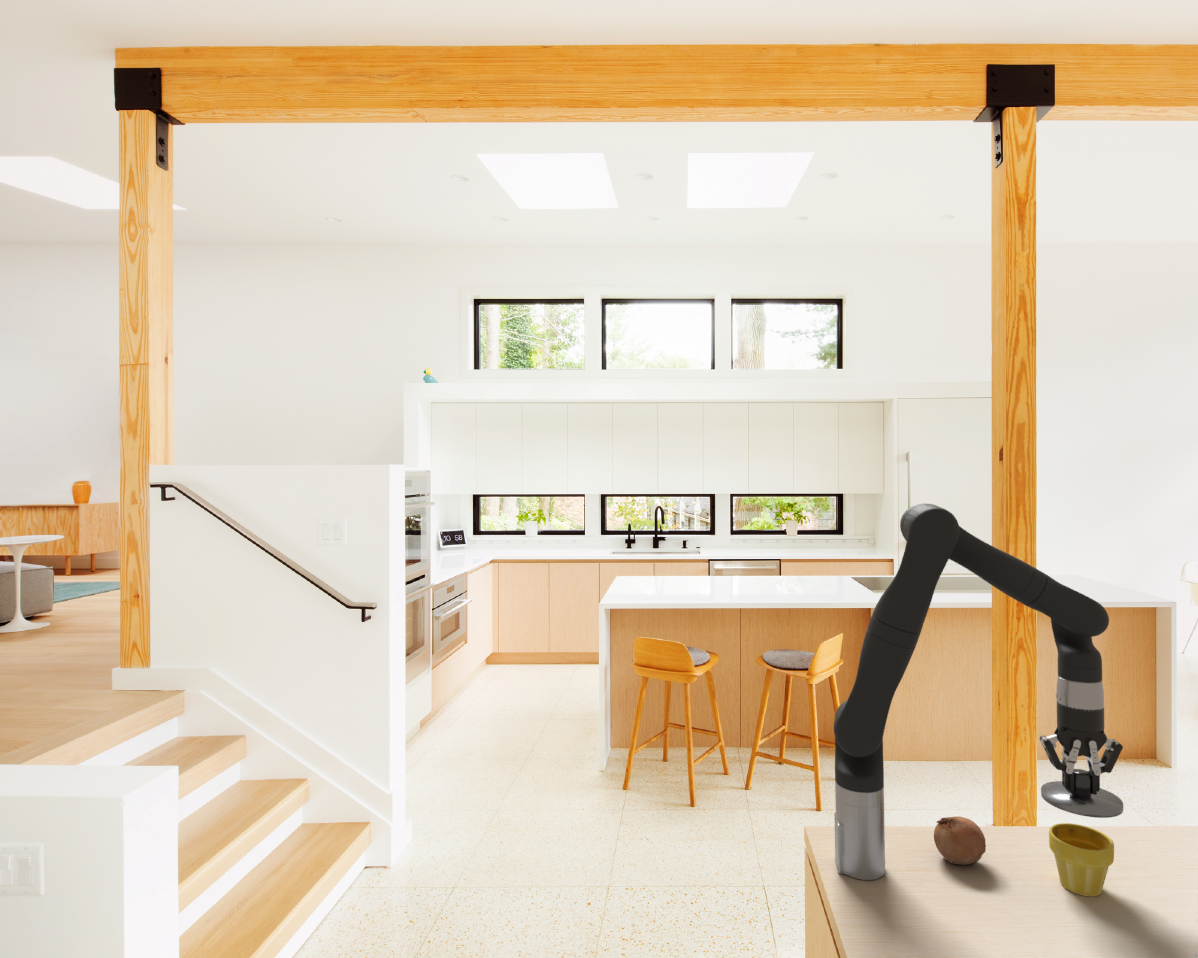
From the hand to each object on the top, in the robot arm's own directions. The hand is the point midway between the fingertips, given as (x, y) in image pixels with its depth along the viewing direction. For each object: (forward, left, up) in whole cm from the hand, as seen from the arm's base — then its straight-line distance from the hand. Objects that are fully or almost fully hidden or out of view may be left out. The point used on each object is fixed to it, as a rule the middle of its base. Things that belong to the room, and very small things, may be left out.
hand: (1081, 791), depth 138 cm
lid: (0, 0, -2) cm, 2 cm away
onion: (-20, +6, -19) cm, 28 cm away
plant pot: (0, 0, -19) cm, 19 cm away
